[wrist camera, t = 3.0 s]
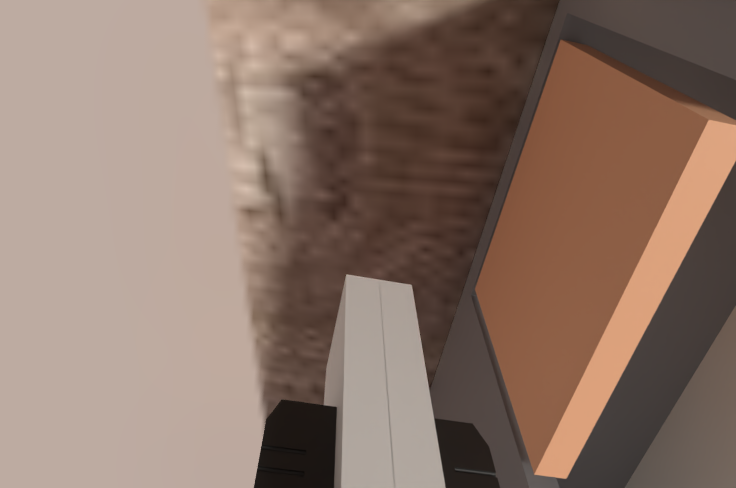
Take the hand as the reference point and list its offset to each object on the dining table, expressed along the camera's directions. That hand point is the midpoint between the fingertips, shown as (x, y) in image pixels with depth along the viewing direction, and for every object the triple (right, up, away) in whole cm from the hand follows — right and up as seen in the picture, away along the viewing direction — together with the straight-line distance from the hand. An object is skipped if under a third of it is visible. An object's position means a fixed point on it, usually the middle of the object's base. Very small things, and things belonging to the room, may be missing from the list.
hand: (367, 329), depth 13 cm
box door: (+5, +4, +5) cm, 8 cm away
